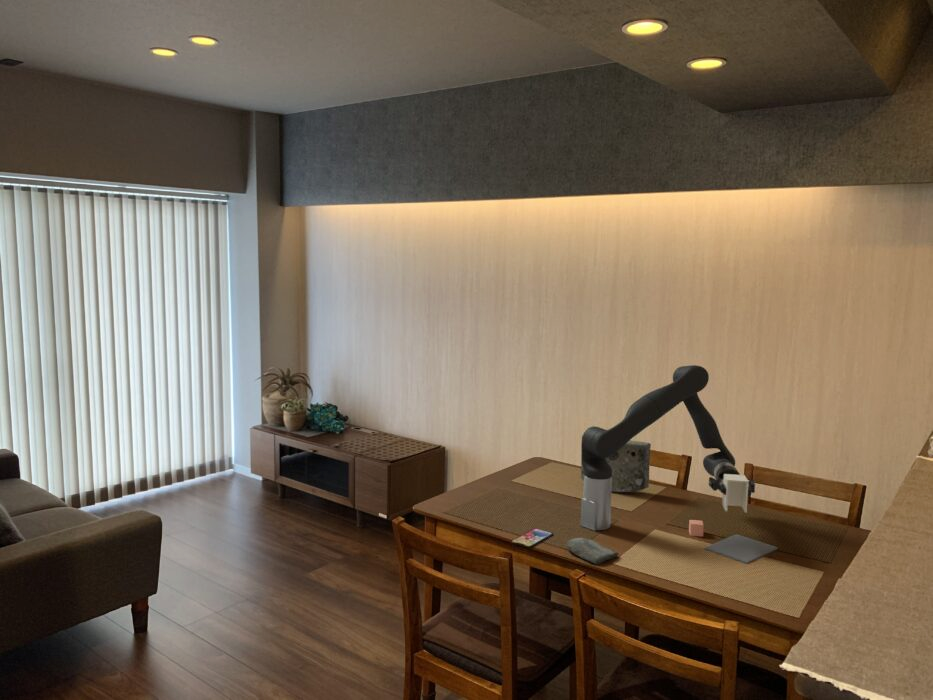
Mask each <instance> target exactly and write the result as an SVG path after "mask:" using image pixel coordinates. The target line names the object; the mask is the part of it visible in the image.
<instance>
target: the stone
mask: <svg viewBox="0 0 933 700" xmlns="http://www.w3.org/2000/svg"><path fill="white" fill-rule="evenodd" d="M565 545H566V548H567V549H568V551H570V552H571V553H573V554H574V555H576V556H577V557H579V558H581V559H583V560H585V561H588V562H589V563H592V564H595V566H599V565H601V564H602V563H604V562H606V561H609V560H613V559H615V558H616V557H617V556H618V555H619V552H618V551H615V550H614V549H611V548H608V547H606V546H603V545H601V543H600V542H598V541H595V540H593V539H592V538H591V539H590V538H586V537H576V538H571V539H569V540H567V541H566V544H565Z"/></svg>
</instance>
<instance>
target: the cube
mask: <svg viewBox="0 0 933 700" xmlns="http://www.w3.org/2000/svg"><path fill="white" fill-rule="evenodd" d="M688 521H689V522H688V532H689V536H691V537H704V528H705V527H704V526H705V525H704V522H703V520H698V519H689V520H688Z"/></svg>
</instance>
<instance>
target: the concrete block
mask: <svg viewBox="0 0 933 700" xmlns="http://www.w3.org/2000/svg"><path fill="white" fill-rule="evenodd" d="M582 437H583V435H582V436H581V438H582ZM651 446H652V444H651V443H650V442H646V441H641V440H640V441H639V440H632V439H631V440H629V441H628V442H627V443H626V444H625V445H624V446H623V447H622V448H621V449H620V450H618V451H617V452H616V453H615V454H614V455H612V456H610V457H608V458H606V461H607V463H608V464H609V465H610V467H611V468H612V491H611V493H613V492H614V493H615V492H616V493H633V492H639V491H643V490H645V489H648V488H649V485H650V462H651V461H650V460H651ZM580 454H581V455H580V457H581V458H580V460H581V461H580V464H581V465H580V467H581V468H580V478H581V480H582V481H583V482H584V469H583V466H582V451H581V453H580Z"/></svg>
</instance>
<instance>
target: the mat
mask: <svg viewBox="0 0 933 700" xmlns="http://www.w3.org/2000/svg"><path fill="white" fill-rule="evenodd" d="M778 549H779V547H778V546H775V545H771V544H769V543H765V542H763V541H759V540H756V539H754V538H753V539H752V538H750V537H746V536H744V535H740V534H737V533H735V534H733V535H731V536H728V537H726V538H723V539H722V540H719V541H717V542H714V543H712V544H709V545H708V546H705V547H704V550H706V551H709V552H712V553H715V554H718V555H720V556H722V557H727V558H729V559H732V560H735V561H738V562H741V563H743V564H747V565H748V564H749V563H751V562H753V561H756V560H758V559H759V558H762V557H764V556H766V555H767V554H770V553H772V552H774V551H776V550H778Z"/></svg>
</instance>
